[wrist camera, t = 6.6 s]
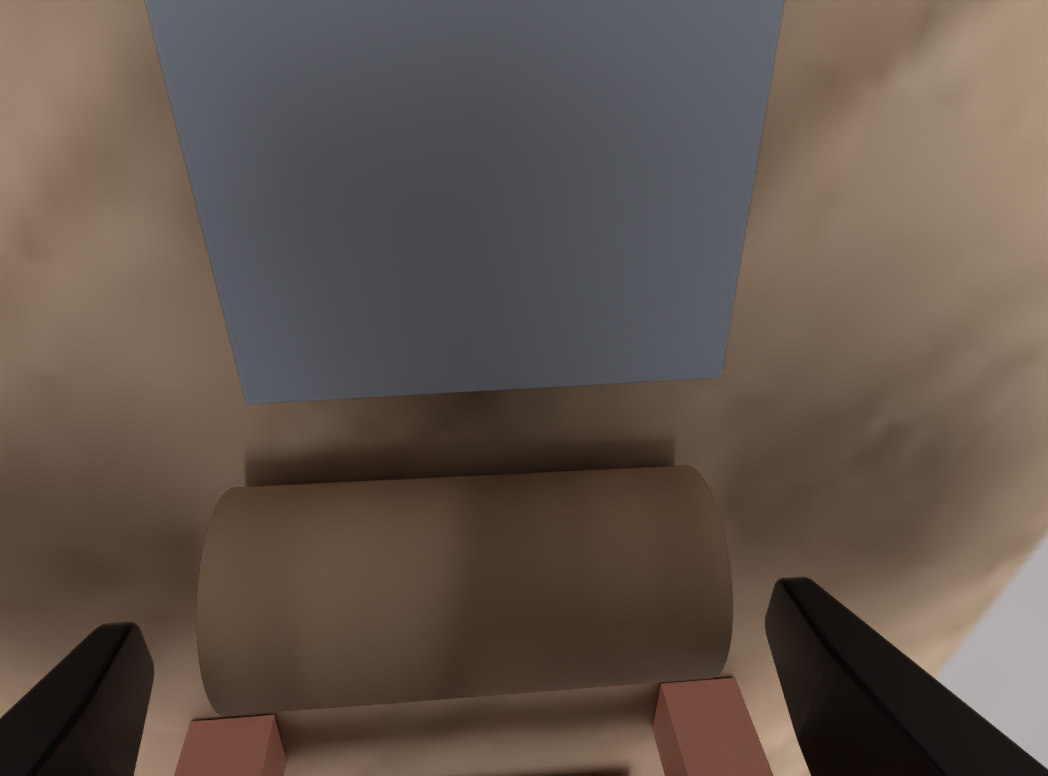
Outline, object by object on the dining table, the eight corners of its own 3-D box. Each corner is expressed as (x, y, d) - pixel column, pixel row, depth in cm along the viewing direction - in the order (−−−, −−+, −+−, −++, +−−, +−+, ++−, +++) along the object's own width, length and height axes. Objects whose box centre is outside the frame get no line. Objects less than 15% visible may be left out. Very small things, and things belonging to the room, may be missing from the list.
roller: (655, 554, 13) (705, 720, 10) (273, 577, 12) (234, 759, 10) (682, 423, 11) (751, 588, 9) (235, 443, 10) (176, 625, 8)
